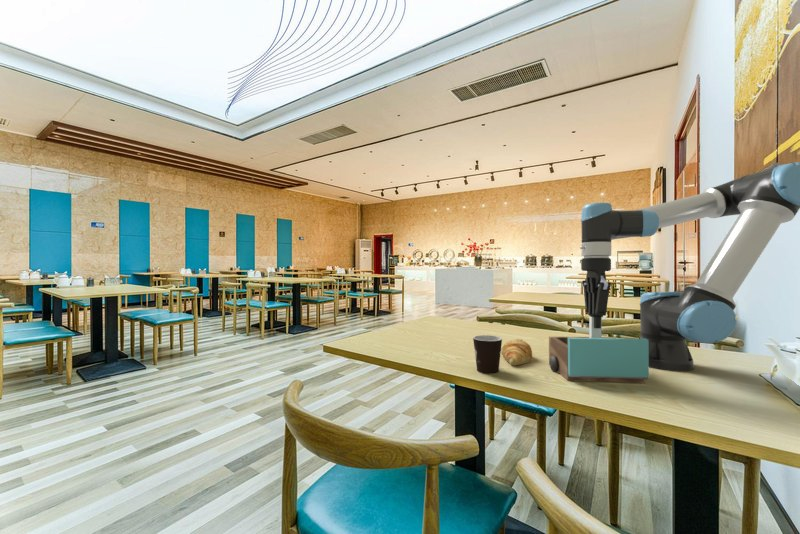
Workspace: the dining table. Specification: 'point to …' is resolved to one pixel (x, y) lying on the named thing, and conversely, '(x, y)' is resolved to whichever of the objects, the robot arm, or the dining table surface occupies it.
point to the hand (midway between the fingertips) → (595, 338)
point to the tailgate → (608, 358)
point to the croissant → (517, 352)
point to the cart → (560, 361)
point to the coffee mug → (487, 353)
